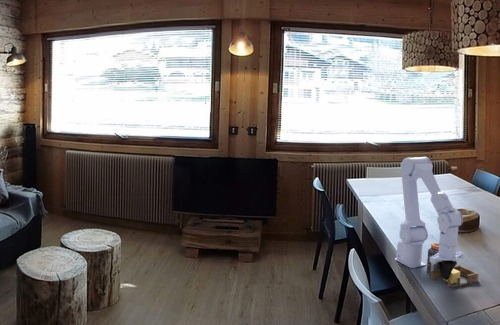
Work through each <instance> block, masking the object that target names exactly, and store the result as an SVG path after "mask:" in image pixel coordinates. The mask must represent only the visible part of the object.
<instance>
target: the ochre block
mask: <svg viewBox="0 0 500 325" xmlns="http://www.w3.org/2000/svg"><path fill="white" fill-rule="evenodd" d="M458 277H460V278H461V274H460V271H458V270H456V269H453V270H452V272H451V274H450V276H449V279H448V280H450V285H455V284H457V278H458ZM442 280H443V281H445V282H447V283H448V280H445V279H443V278H442Z"/></svg>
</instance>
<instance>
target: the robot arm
mask: <svg viewBox="0 0 500 325" xmlns="http://www.w3.org/2000/svg"><path fill="white" fill-rule="evenodd" d="M433 166H434V165H433V164H432V162H431V160H430V158H429V157H427V156H421V157H418V156H417V157H405V158H403V159H402V161H401V162H400V172H401V182H402V193H403V194H402V195H403V203H404V204H403V205H404V206H403V207H404V215H405V220H403V221H402V222H401V223H400V230H399V238H400V240H399V241H397V245H396V257H395V258H394V260H395V261H396V262H399V263H401V264H403V265H405V266H406V267H409V268H410V269H415V268H419V267H420V268H421V267H424V266H427V263H424V262H423V261H422V256H423V255H422V254H423V246H424V245H423V244H425V241H427V239H428V237H429V233H428V229H427V227H426V223H425V221H424V220H422V219H421V217H420V216H421V215H420V206H419V195H418V184H417V181H418V179H421V180H422V182H423V183H424V185H425V187H426V189H427V190H428V192H429V193H430V195H431V197H430V202H431V204H432V205H433V207H434V209H435V212H436V213H437V215H438V217H436V221H437V223H438V230H439V240H438V243H439V251H438V253H437V254H435V255H434V256H432V257H430V262H431V263H433V264H436V262H437V264H438V266H439V269H440V272H441V277H440V278H441V279H442V280H443V279H445V280H448V279H449V276H450V274H451V272H452V270H453V268H454V267H455V266H458V263H457V261H458V260H459V259H464V254H465V253H464V252H462V251H457V247H458V237H459V236H458V234H459V227H461V226H462V225H463V223H464V218H463V214H462V213H461V212H460V211H459V210H458V209H457V208H455V207H454V206H453V205H452V202H451V201H450V198H449V197H448V195H447V194H446V193H445V192H443V191H441V189H440V187H439V184H438V181H437V180H436V177H435V174H434V173H433V172H434V171H433ZM445 280H444V281H445Z"/></svg>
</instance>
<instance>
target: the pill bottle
mask: <svg viewBox="0 0 500 325" xmlns="http://www.w3.org/2000/svg"><path fill="white" fill-rule="evenodd" d="M438 251H439V242H432V243H431V244H430V248H428V250H427V260H426V261H427V262H426V271H427V272H428V273H430V274H431V271H435V270H439V266H438V264H437V262H436V264H433V263H431V262H430V257H432V256H434V255H435V254H437V253H438Z"/></svg>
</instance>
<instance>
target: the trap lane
mask: <svg viewBox="0 0 500 325" xmlns="http://www.w3.org/2000/svg"><path fill="white" fill-rule="evenodd" d="M453 269H456V270H458V271H460V275H462V276H464V277H466V282H462V283H461V276H460V277H458V278H457V283H455V284H451V283H450V280H448V282H447V285H446V286H447V289H451V290H454V289H458V288H462V287H467V286H471V284H472V283H475V282H478V281H479V275H480V273H479V272H476V271H474V270H472V269H469V268H468V267H466V266H463V265H461V264H459V265H458V264H457V265H456V266H455V267H454V268H453ZM439 278H441V272H440V269H439V270H435V271H431V273H430V280H436V279H439Z"/></svg>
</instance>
